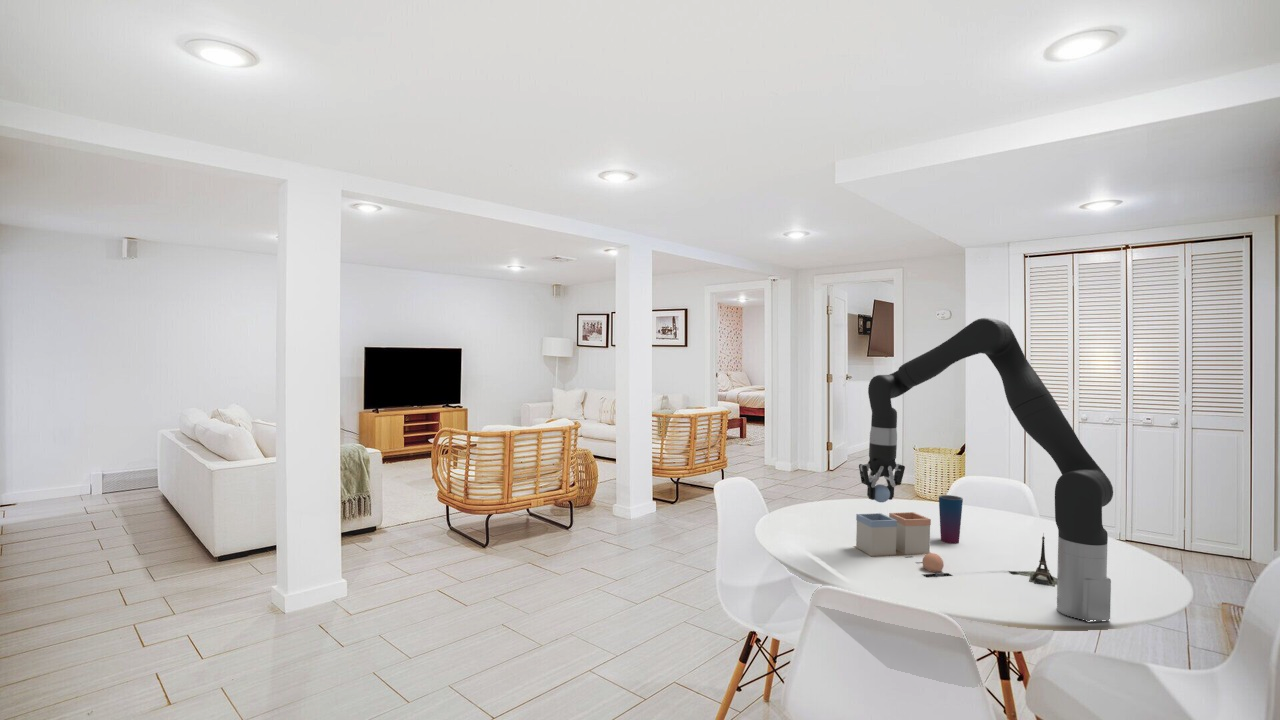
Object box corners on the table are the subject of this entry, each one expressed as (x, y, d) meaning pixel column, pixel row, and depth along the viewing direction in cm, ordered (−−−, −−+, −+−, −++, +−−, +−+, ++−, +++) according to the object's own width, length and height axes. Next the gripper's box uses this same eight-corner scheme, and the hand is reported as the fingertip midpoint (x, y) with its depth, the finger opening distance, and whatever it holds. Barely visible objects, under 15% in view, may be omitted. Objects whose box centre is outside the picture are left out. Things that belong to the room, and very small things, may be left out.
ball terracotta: (947, 575, 165) (948, 556, 165) (930, 576, 164) (930, 557, 164) (934, 568, 170) (935, 550, 170) (918, 569, 169) (918, 551, 169)
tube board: (933, 558, 181) (933, 553, 181) (871, 561, 177) (871, 556, 177) (911, 547, 191) (912, 543, 191) (852, 550, 187) (852, 546, 187)
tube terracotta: (930, 553, 182) (930, 519, 181) (905, 554, 180) (905, 520, 180) (912, 544, 190) (913, 512, 190) (888, 545, 188) (889, 513, 188)
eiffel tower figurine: (1085, 593, 156) (1086, 540, 156) (1049, 594, 155) (1050, 541, 155) (1040, 572, 171) (1041, 524, 171) (1006, 573, 170) (1007, 525, 170)
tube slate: (896, 554, 179) (897, 520, 179) (870, 555, 178) (871, 521, 178) (880, 546, 187) (881, 513, 187) (855, 547, 186) (856, 514, 186)
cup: (964, 548, 190) (965, 500, 190) (941, 547, 192) (942, 499, 191) (958, 542, 197) (959, 495, 197) (935, 540, 198) (936, 494, 198)
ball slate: (893, 504, 180) (894, 486, 180) (877, 504, 179) (878, 486, 179) (883, 499, 185) (884, 482, 185) (867, 500, 184) (868, 482, 184)
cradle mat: (953, 576, 165) (953, 572, 165) (926, 578, 164) (926, 573, 164) (920, 559, 179) (920, 555, 179) (895, 561, 177) (895, 556, 177)
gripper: (867, 444, 177) (865, 502, 177) (912, 444, 179) (910, 502, 180) (854, 440, 184) (851, 496, 185) (897, 440, 187) (894, 495, 187)
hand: (880, 498), depth 182 cm, fingers closed on ball slate, 5 cm apart
